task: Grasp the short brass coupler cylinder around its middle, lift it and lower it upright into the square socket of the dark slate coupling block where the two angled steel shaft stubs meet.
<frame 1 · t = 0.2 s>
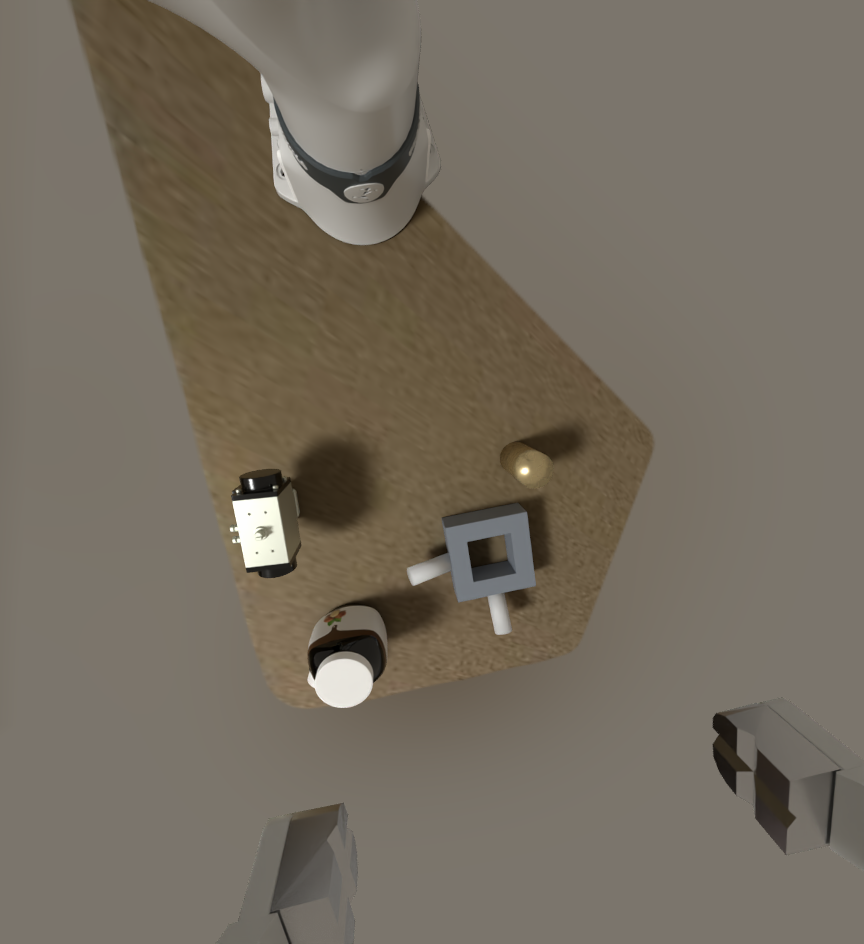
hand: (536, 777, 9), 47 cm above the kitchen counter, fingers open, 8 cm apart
brass coupler: (515, 457, 57), on the kitchen counter
coupling block: (485, 545, 59), on the kitchen counter
spread jar: (348, 636, 60), on the kitchen counter
pneumatic valve: (282, 502, 55), on the kitchen counter
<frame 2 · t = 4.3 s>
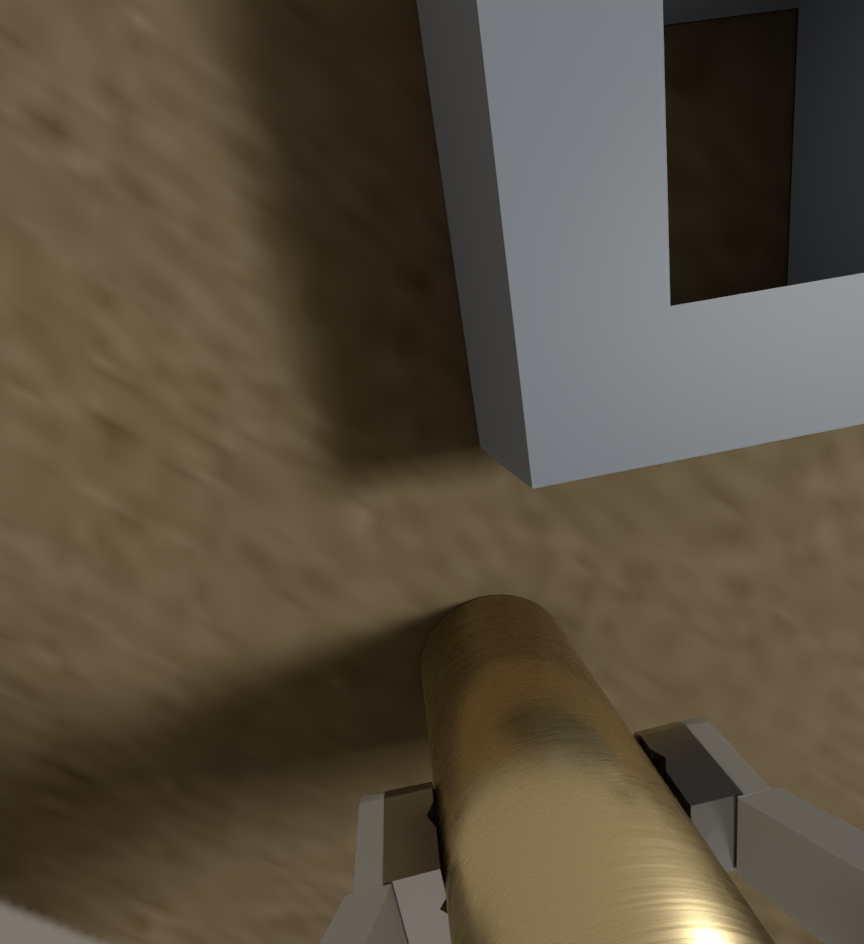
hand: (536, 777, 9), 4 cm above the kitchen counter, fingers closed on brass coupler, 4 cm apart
brass coupler: (493, 661, 12), on the kitchen counter, touching gripper
coupling block: (674, 179, 10), on the kitchen counter
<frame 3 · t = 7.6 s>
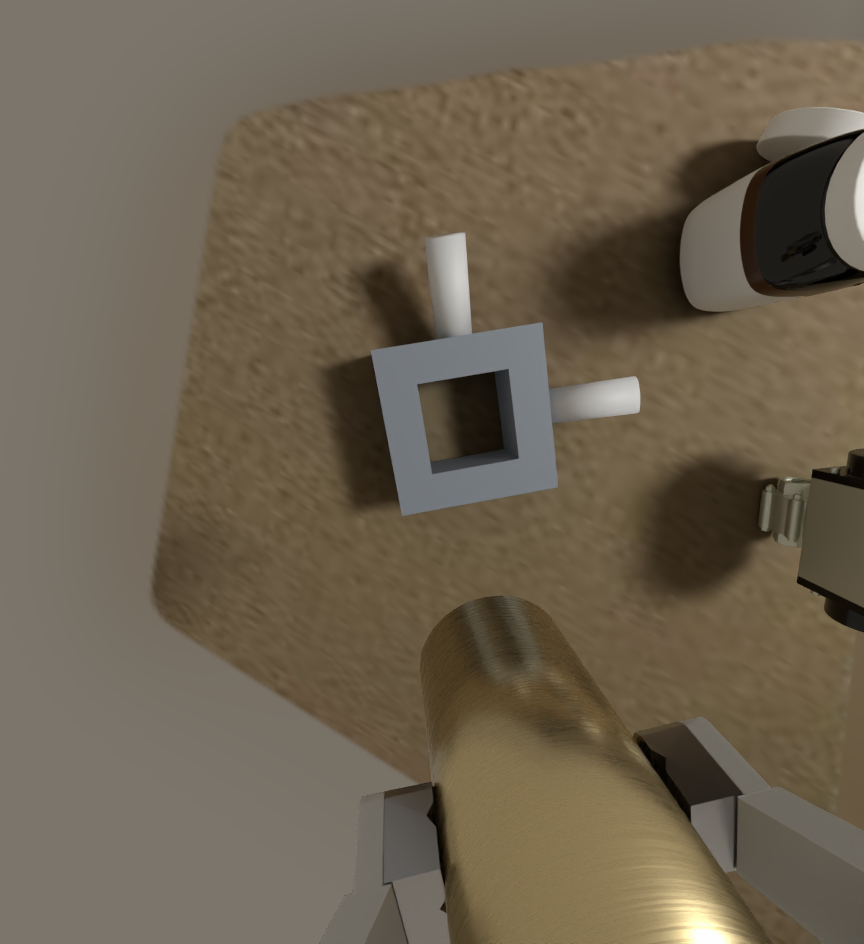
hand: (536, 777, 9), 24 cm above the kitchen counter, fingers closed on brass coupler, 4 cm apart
brass coupler: (493, 662, 12), point 20 cm above the kitchen counter, touching gripper
coupling block: (460, 417, 31), on the kitchen counter
spread jar: (735, 229, 30), on the kitchen counter
pneumatic valve: (778, 504, 35), on the kitchen counter
when the fingers open (5 cm above the kitchen counter, at t = 11.1 s): brass coupler drops 1 cm, resting in coupling block.
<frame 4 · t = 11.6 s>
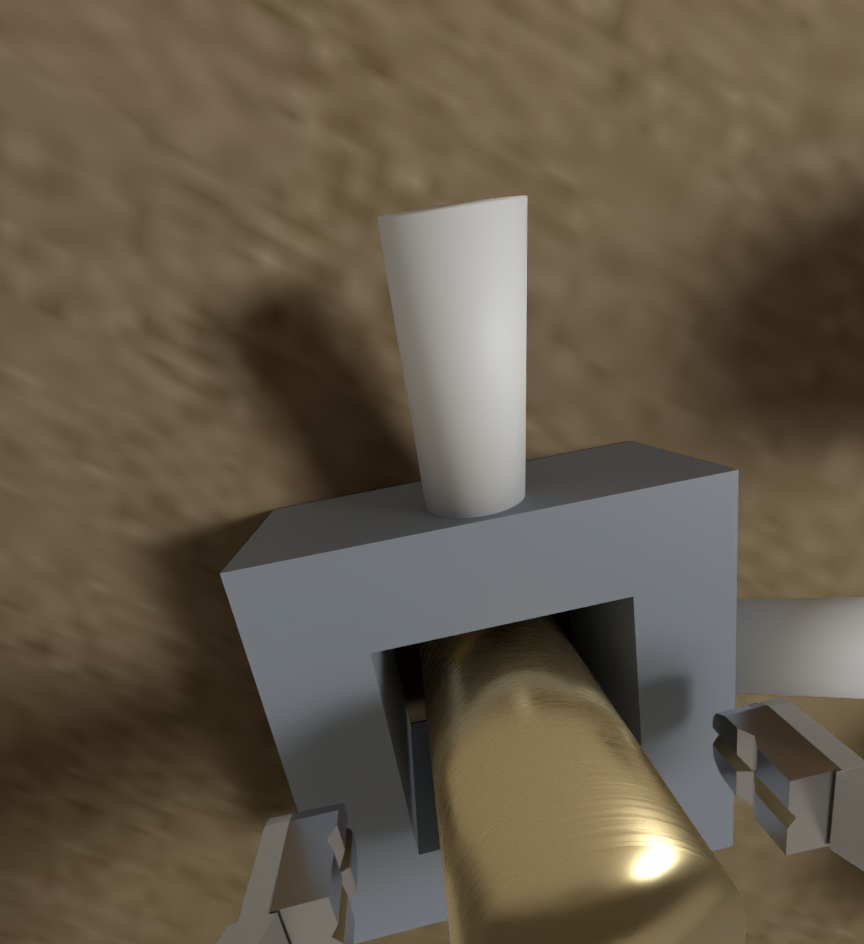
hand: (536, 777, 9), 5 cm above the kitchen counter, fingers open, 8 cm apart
brass coupler: (483, 631, 14), resting in coupling block
coupling block: (482, 631, 14), on the kitchen counter
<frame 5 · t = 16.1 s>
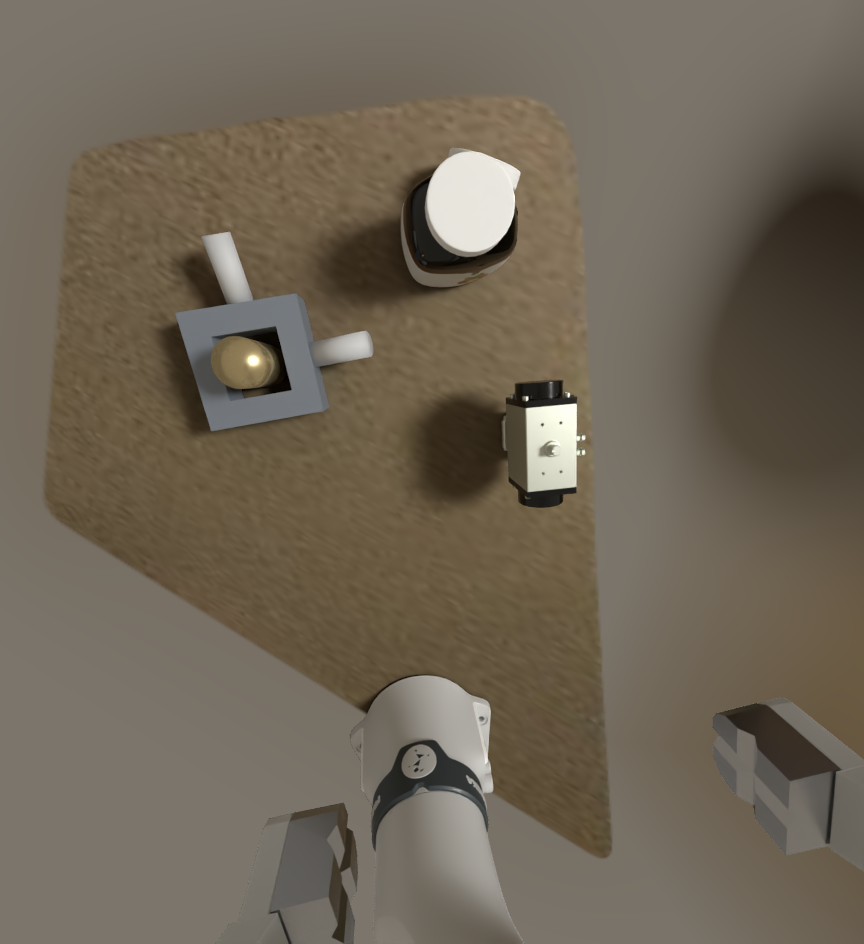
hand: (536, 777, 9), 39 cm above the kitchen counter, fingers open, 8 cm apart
brass coupler: (265, 365, 43), resting in coupling block
coupling block: (264, 365, 43), on the kitchen counter
spread jar: (455, 228, 42), on the kitchen counter
pneumatic valve: (518, 431, 48), on the kitchen counter
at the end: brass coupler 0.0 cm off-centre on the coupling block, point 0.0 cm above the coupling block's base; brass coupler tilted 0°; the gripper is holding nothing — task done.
